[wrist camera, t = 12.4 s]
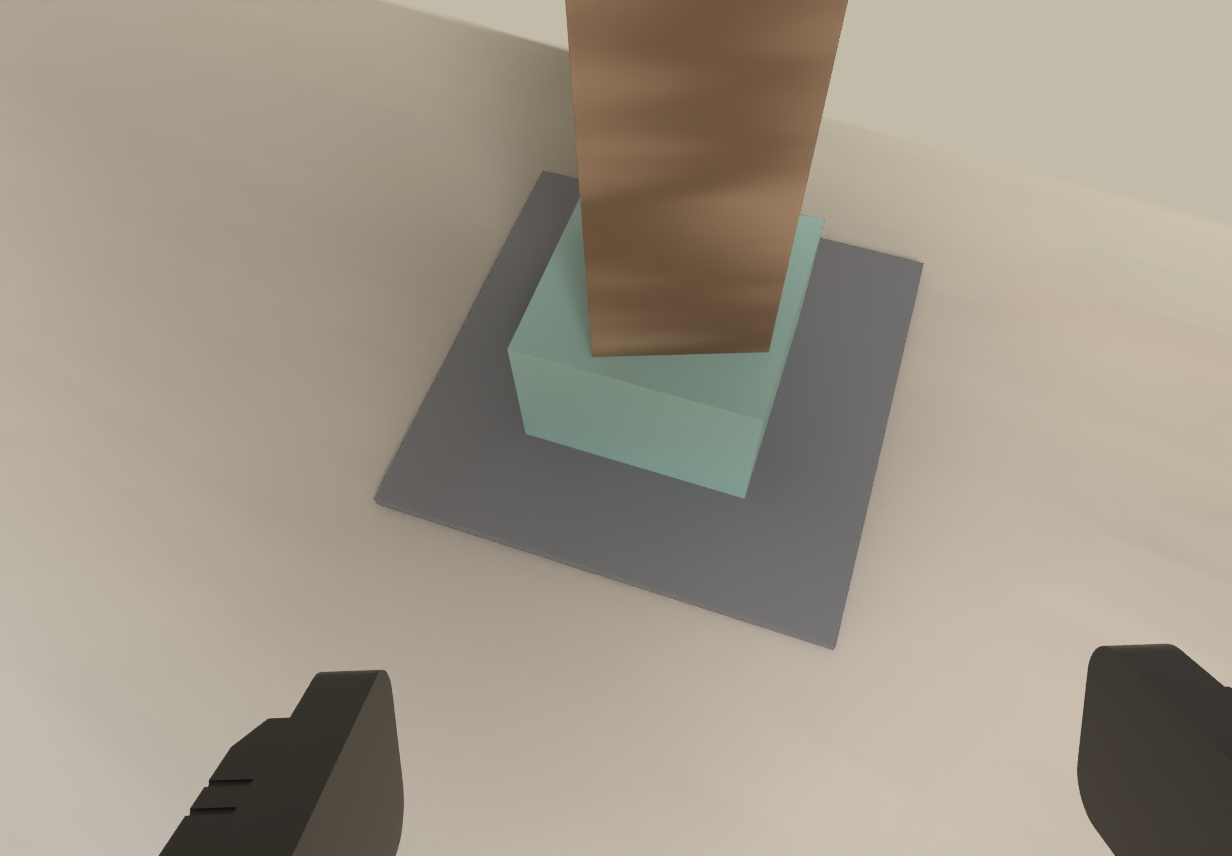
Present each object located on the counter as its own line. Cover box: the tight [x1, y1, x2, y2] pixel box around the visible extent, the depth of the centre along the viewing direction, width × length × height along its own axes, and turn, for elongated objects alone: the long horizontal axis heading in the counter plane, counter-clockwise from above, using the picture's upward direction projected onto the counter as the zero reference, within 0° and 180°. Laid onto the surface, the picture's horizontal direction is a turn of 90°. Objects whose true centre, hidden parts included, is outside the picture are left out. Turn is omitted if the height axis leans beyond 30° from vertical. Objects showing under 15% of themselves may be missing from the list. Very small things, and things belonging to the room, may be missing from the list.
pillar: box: [565, 0, 848, 357], centre depth 17 cm, size 4×4×10 cm
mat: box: [374, 171, 924, 650], centre depth 25 cm, size 12×12×1 cm
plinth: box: [507, 198, 825, 499], centre depth 24 cm, size 6×6×4 cm
